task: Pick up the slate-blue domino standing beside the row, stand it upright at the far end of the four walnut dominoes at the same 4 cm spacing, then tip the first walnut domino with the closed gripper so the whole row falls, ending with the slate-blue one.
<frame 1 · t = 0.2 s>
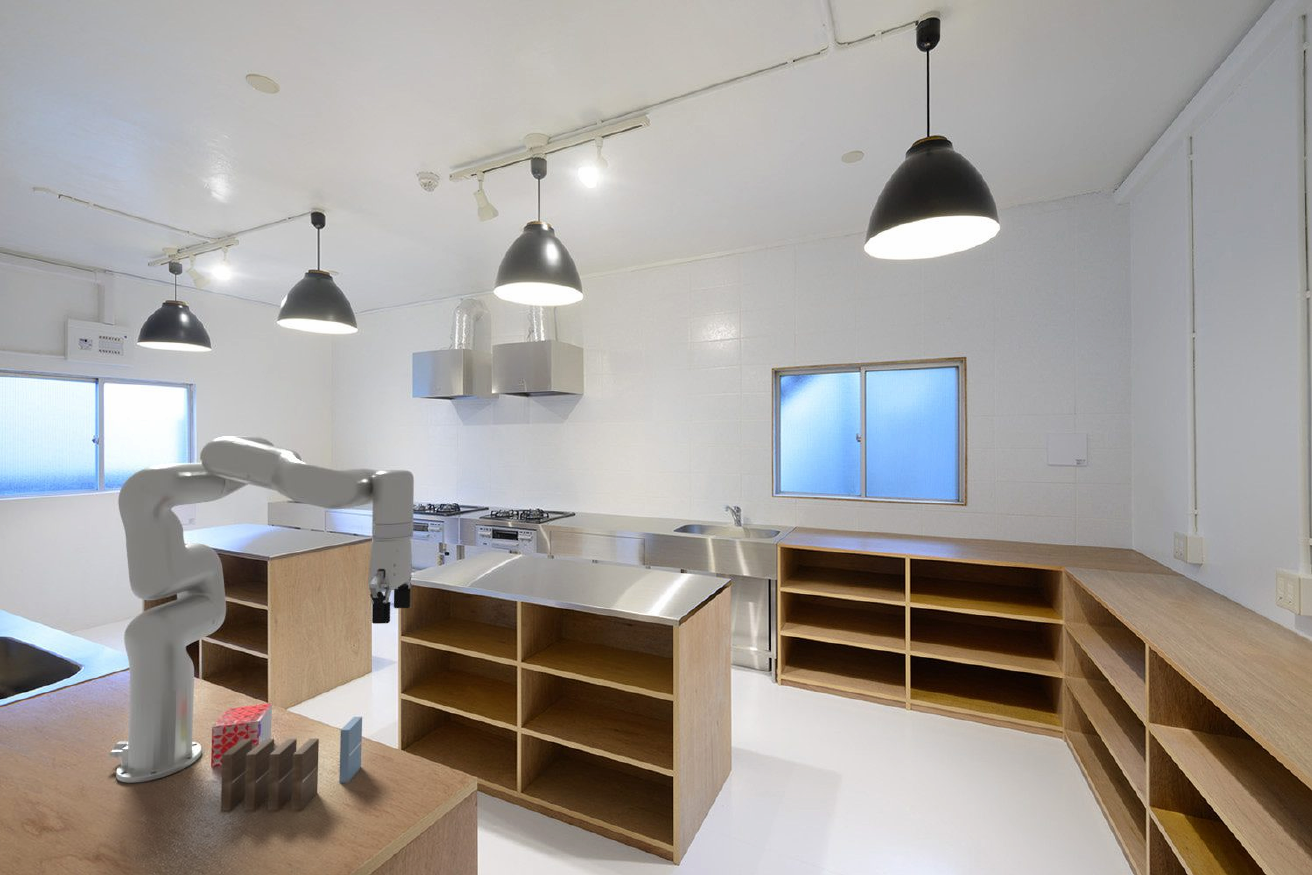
hand: (392, 615, 110), 30 cm above the counter, tool pointing down, fingers open, 9 cm apart
domino 3: (281, 802, 97), on the counter
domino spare: (350, 774, 106), on the counter
red patterned cube: (242, 753, 112), on the counter
domino 1: (235, 802, 97), on the counter
domino 2: (258, 802, 97), on the counter
domino 4: (304, 801, 97), on the counter
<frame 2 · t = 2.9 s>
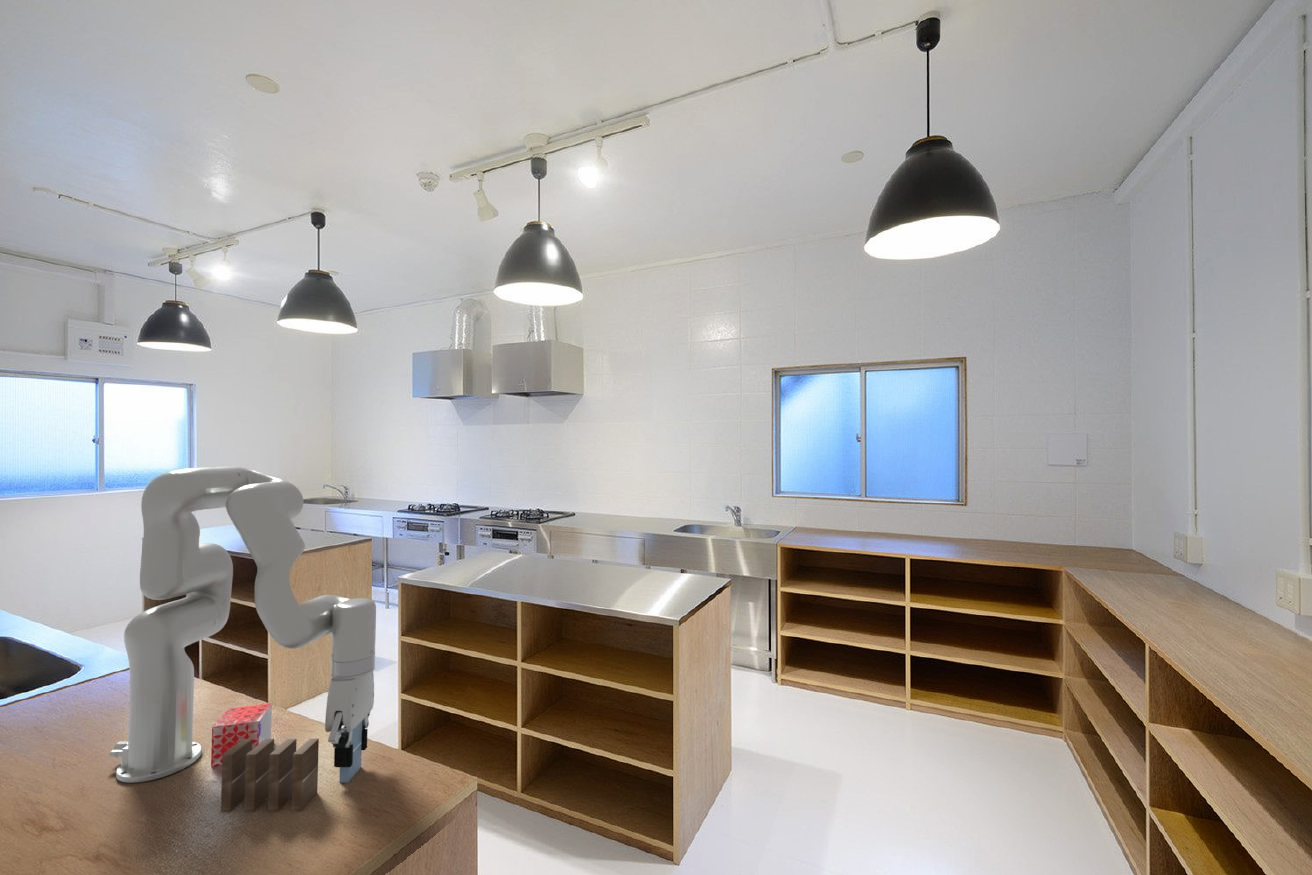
hand: (351, 756, 106), 3 cm above the counter, tool pointing down, fingers closed on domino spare, 4 cm apart
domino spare: (350, 774, 106), on the counter, touching gripper
everything else where it was.
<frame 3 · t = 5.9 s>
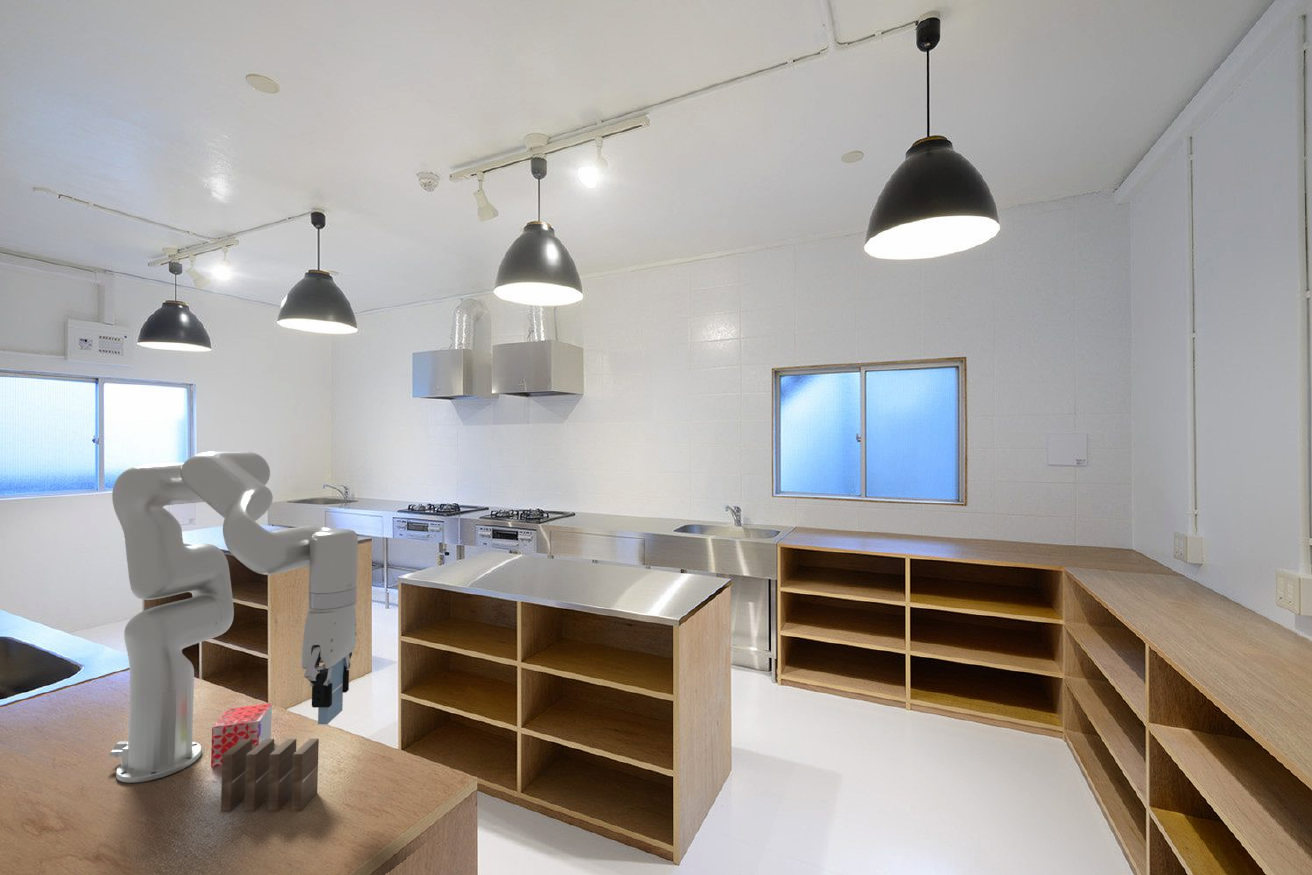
hand: (330, 698, 98), 19 cm above the counter, tool pointing down, fingers closed on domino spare, 4 cm apart
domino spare: (330, 717, 98), point 15 cm above the counter, touching gripper
everything else where it was.
when the fingers open (4 cm above the counter, at t = 8.7 s): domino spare stays where it is, on the counter.
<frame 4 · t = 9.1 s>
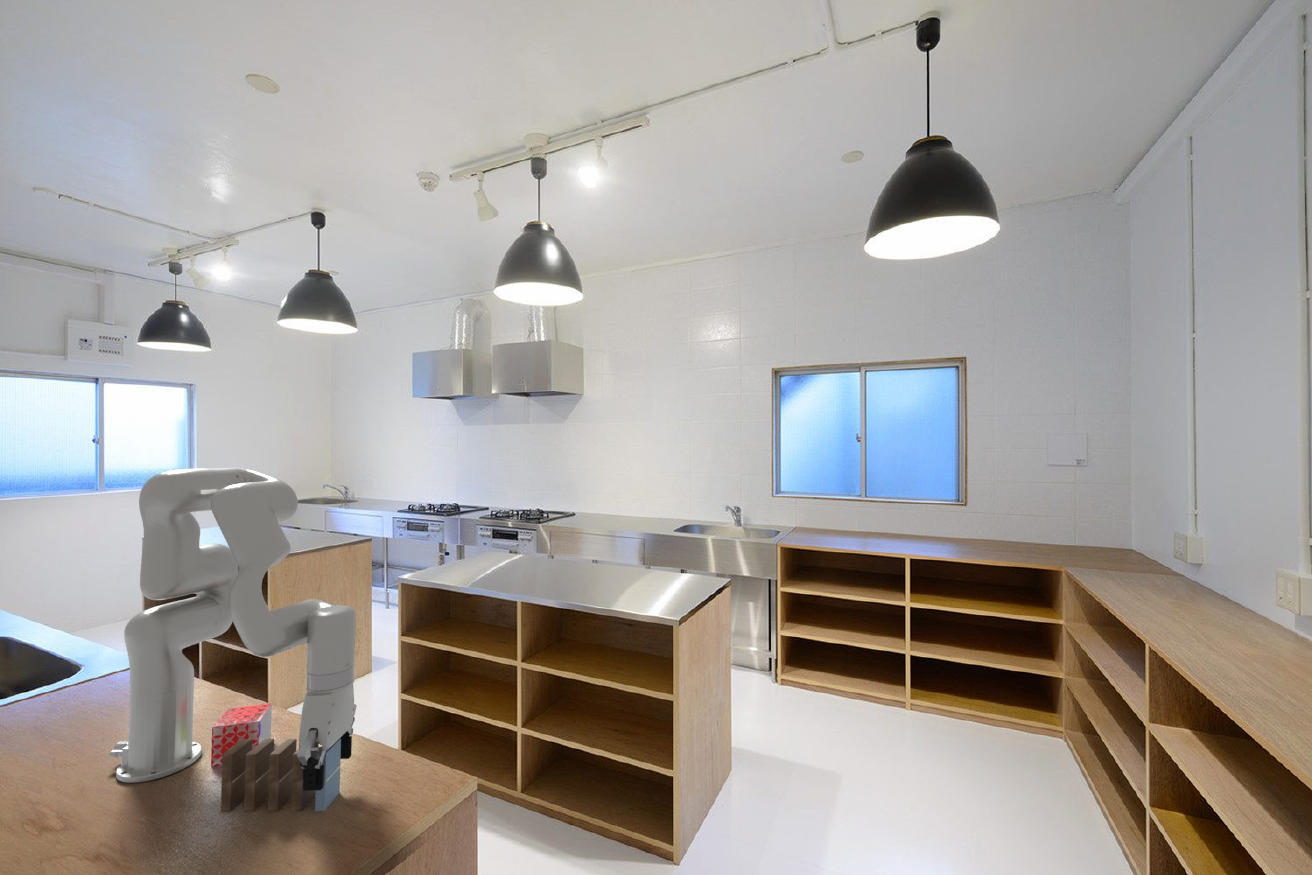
hand: (328, 772, 98), 5 cm above the counter, tool pointing down, fingers open, 8 cm apart
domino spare: (327, 801, 98), on the counter
everything else where it was.
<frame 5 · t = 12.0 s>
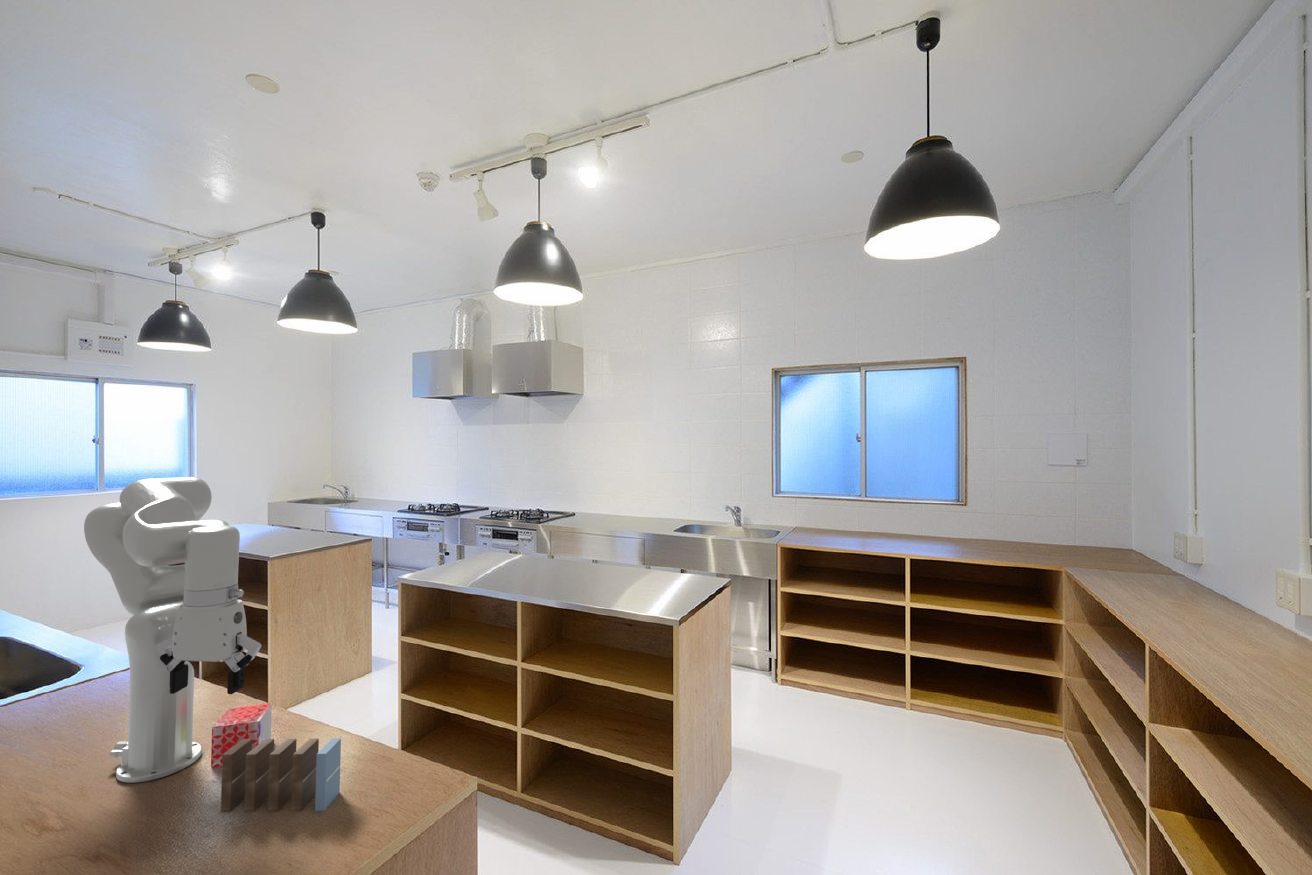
hand: (207, 690, 97), 20 cm above the counter, tool pointing down, fingers open, 9 cm apart
nothing on the counter moved.
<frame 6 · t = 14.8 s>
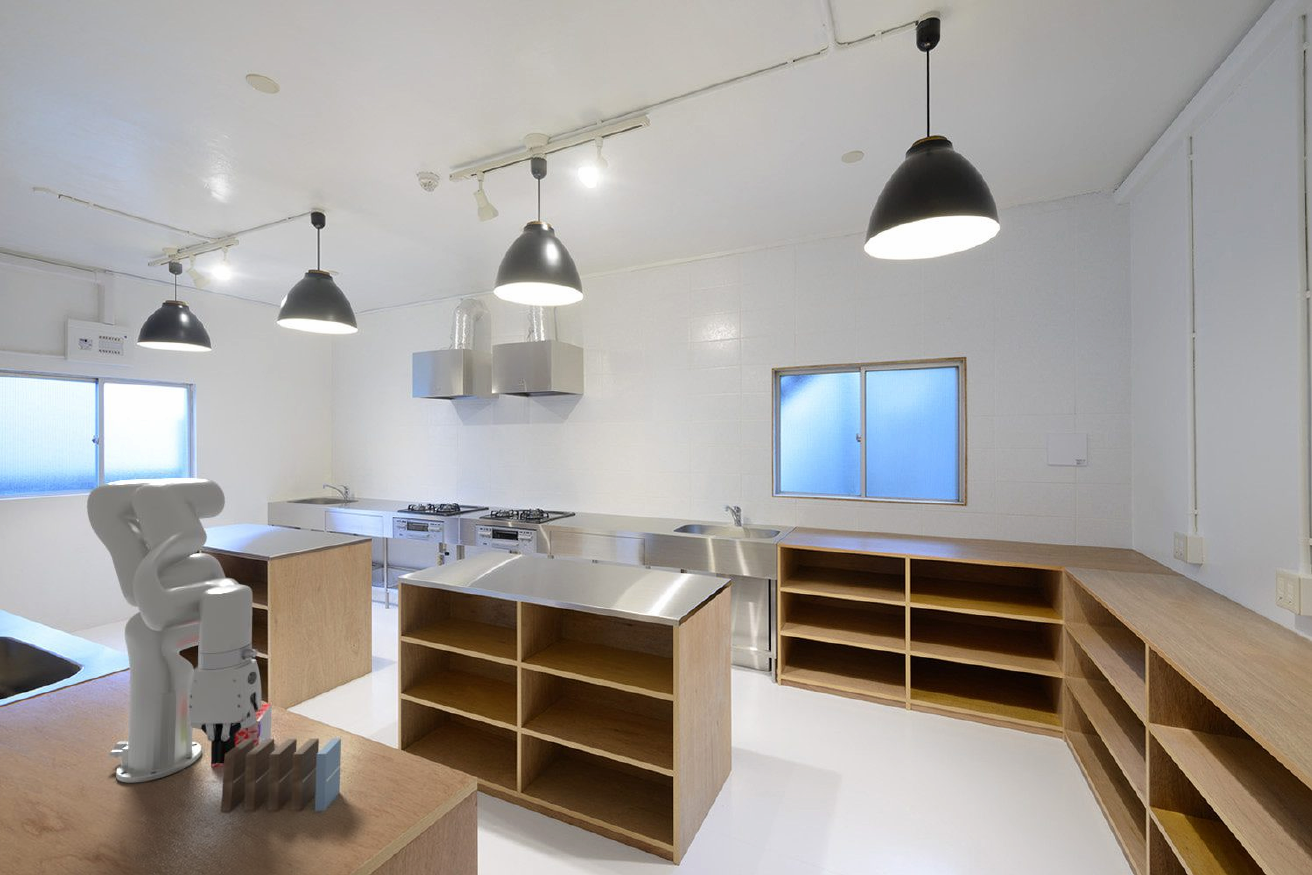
hand: (222, 759, 97), 8 cm above the counter, tool pointing down, fingers closed
domino 1: (235, 802, 97), on the counter, touching gripper
everything else where it was.
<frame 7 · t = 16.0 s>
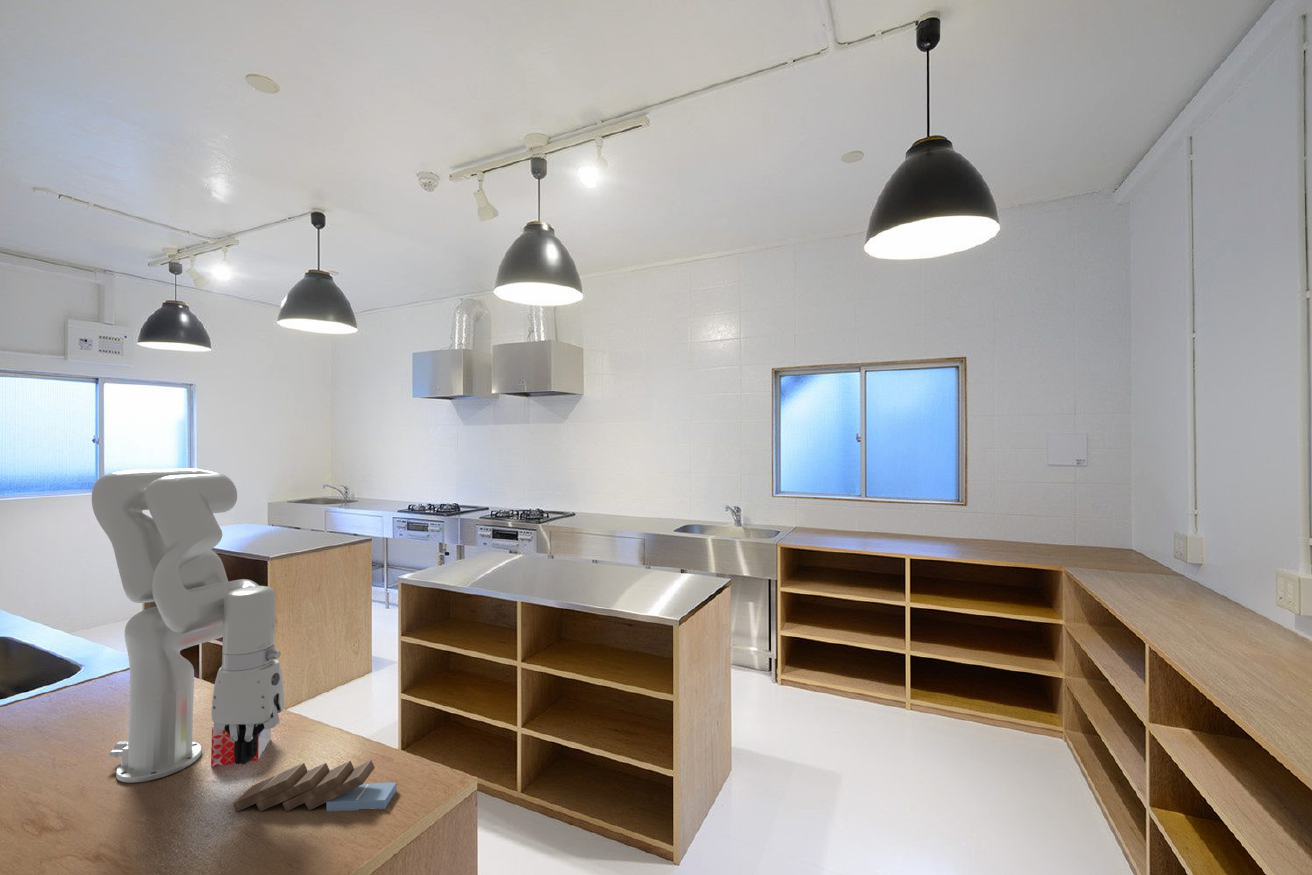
hand: (245, 759, 97), 8 cm above the counter, tool pointing down, fingers closed
domino 3: (293, 798, 97), point 1 cm above the counter, tilted 64°, touching domino 2, domino 4
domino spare: (333, 797, 98), point 1 cm above the counter, tilted 89°, touching domino 4
domino 1: (244, 798, 97), point 1 cm above the counter, tilted 66°, touching domino 2
domino 2: (267, 798, 97), point 1 cm above the counter, tilted 66°, touching domino 1, domino 3
domino 4: (314, 797, 98), point 1 cm above the counter, tilted 64°, touching domino 3, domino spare
everything else where it was.
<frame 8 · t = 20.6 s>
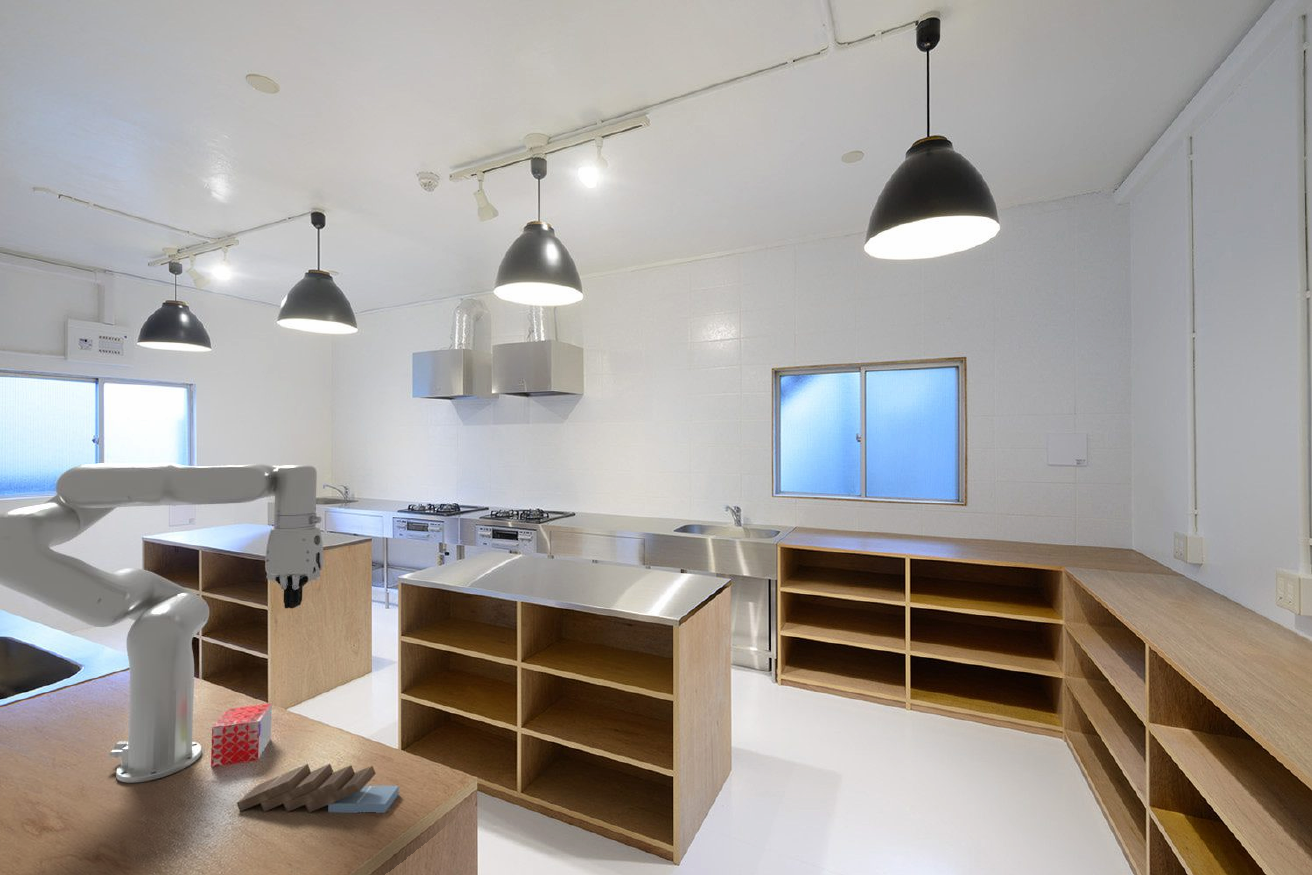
hand: (292, 606, 117), 29 cm above the counter, tool pointing down, fingers closed
at the end: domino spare inside the target area (0.4 cm from its centre), point 0.7 cm above the counter; domino 4 tilted 65°; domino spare tilted 89° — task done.
